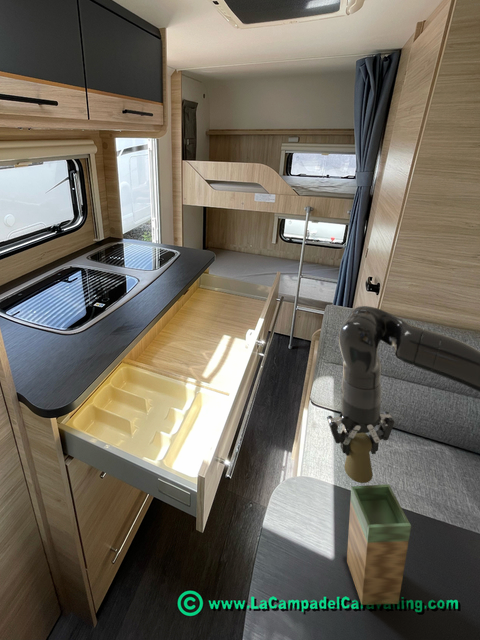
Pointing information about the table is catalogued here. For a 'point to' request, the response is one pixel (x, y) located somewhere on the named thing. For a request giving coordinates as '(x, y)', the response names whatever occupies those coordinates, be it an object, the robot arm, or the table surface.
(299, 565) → the table surface
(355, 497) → the box
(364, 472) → the cork
